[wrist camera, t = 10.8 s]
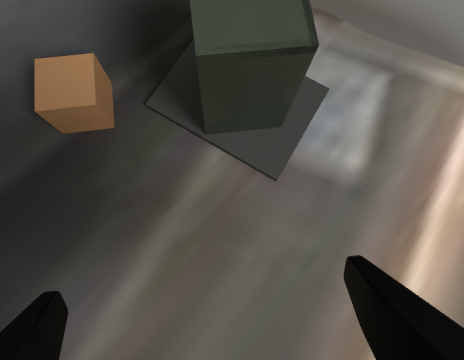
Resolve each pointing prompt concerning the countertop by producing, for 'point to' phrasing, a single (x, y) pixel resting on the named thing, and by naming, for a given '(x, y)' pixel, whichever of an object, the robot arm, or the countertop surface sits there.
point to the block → (73, 93)
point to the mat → (242, 142)
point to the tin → (251, 60)
